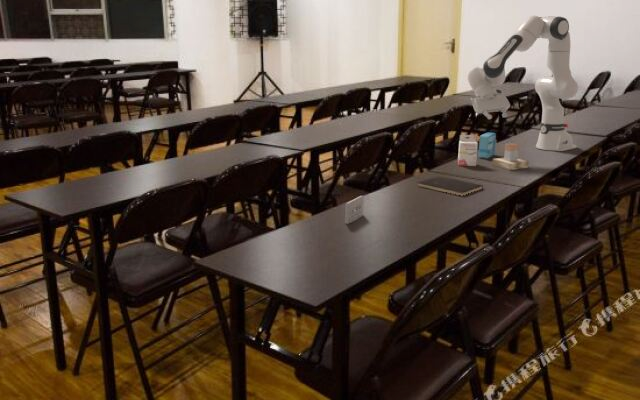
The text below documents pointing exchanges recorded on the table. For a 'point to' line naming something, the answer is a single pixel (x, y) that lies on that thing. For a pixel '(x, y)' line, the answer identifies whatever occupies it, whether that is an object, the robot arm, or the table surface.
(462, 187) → the hardcover book
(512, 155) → the block
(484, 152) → the data package
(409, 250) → the table surface
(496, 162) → the birch stand
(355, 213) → the cassette
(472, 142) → the ink cartridge box
